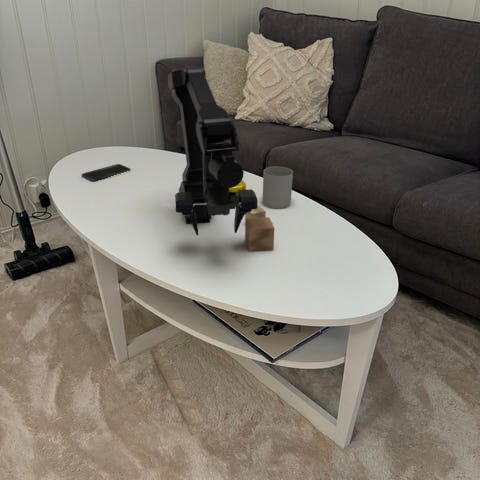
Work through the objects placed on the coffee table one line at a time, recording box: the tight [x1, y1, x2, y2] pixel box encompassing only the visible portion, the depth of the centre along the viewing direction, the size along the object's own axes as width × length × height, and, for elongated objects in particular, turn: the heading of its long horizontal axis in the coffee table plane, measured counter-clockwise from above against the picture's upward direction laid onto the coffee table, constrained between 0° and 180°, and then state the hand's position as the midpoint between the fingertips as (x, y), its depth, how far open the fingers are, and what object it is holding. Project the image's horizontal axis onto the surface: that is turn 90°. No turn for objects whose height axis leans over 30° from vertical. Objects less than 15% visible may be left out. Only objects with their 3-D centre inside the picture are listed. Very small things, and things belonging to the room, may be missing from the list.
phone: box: [81, 163, 131, 183], centre depth 159 cm, size 8×1×15 cm
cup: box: [261, 166, 294, 210], centre depth 137 cm, size 8×8×10 cm
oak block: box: [244, 205, 267, 220], centre depth 125 cm, size 4×4×5 cm
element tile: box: [229, 179, 247, 192], centre depth 146 cm, size 15×15×5 cm
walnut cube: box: [244, 216, 275, 253], centre depth 115 cm, size 6×6×6 cm
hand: (216, 233), depth 113 cm, fingers open, 9 cm apart
